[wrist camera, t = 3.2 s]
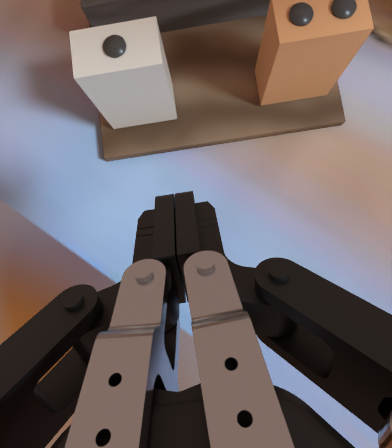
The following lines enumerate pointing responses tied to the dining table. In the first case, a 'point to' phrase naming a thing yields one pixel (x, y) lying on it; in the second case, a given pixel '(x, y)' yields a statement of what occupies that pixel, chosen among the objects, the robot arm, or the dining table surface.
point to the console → (208, 78)
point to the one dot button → (124, 72)
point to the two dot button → (308, 46)
